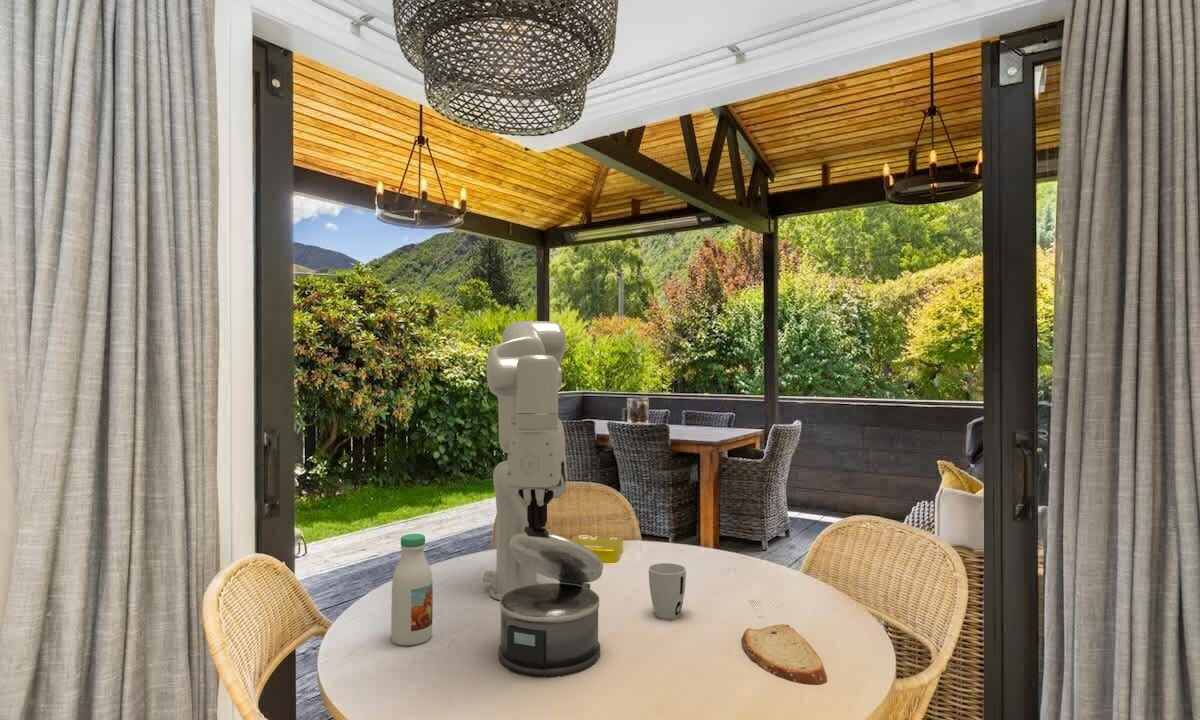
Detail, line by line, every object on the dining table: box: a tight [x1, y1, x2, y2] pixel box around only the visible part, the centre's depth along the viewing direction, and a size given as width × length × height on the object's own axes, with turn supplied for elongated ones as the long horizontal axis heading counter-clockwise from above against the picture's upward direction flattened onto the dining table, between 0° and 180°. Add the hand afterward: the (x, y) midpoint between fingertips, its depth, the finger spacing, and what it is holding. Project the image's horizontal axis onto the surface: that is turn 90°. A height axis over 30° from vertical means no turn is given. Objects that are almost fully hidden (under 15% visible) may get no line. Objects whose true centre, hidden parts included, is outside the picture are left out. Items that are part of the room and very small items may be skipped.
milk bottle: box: [390, 533, 434, 647], centre depth 125 cm, size 8×8×20 cm
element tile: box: [570, 534, 624, 564], centre depth 184 cm, size 15×15×5 cm
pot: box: [497, 582, 601, 678], centre depth 119 cm, size 19×22×10 cm
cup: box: [648, 562, 687, 620], centre depth 138 cm, size 8×8×10 cm
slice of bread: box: [741, 623, 828, 686], centre depth 117 cm, size 18×18×4 cm
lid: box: [508, 527, 604, 585], centre depth 121 cm, size 18×21×3 cm
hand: (537, 527), depth 113 cm, fingers closed
